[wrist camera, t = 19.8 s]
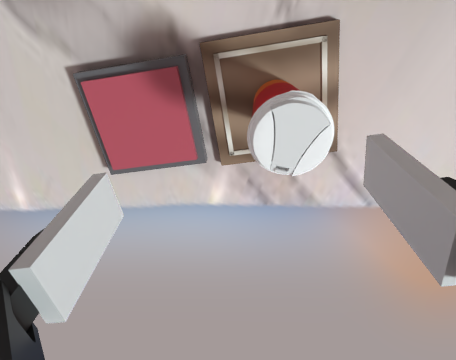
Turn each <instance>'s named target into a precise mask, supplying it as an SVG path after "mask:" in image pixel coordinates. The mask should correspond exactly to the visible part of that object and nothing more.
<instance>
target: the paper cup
mask: <svg viewBox="0 0 456 360" xmlns="http://www.w3.org/2000/svg"><path fill="white" fill-rule="evenodd" d="M333 138H334V122H333V119H332V116H331V114H330V112H329V110H328V108H327V107H326V106H325V105H324V104H323V103H322V102H321V101H320V100H318V99H317V98H316V97H315V96H314V95H313V94H311V93H308V92H304V91H300V90H299V89H297V88H296V87H294V86H293V85H292V84H290V83H288V82H286V81H283V80H271V81H268V82H266V83H265V84H263V85H262V86H261V87H260V88H259V89H258V91H257V92H256V94H255V97H254V102H253V110H252V118H251V120H250V123H249V126H248V131H247V142H248V147H249V150H250V153H251V155H252V156H253V158H254V159H255V161H256V162H257V163H258V164H259V165H260V166H262V167H263V168H265V169H266V170H269V171H271V172H274V173H277V174H283V175H291V176H295V175H300V174H303V173H306V172H308V171H310V170H312V169H314V168H315V167H316V166H318V165H319V164H320V163H321V162H322V161H323V160H324V158H325V157H326V156H327V154H328V152H329V150H330V147H331V145H332V142H333Z"/></svg>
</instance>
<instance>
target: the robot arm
mask: <svg viewBox="0 0 456 360" xmlns="http://www.w3.org/2000/svg"><path fill="white" fill-rule="evenodd" d="M364 187H365V188H366V189H367V190H368V192H369V193H370V194H371V196H372V197H373V198H374V200H375V201H376V202H377V203H378V205H379V206H380V207H381V209H382V210H383V211H384V213H385V214H386V215H387V217H388V218H389V219H390V220H391V222H392V223H393V224H394V226H395V227H396V228H397V230H398V231H399V232H400V233H401V235H402V236H403V237H404V239H405V240H406V241H407V243H408V244H409V245H410V246H411V248H412V249H413V250H414V252H415V253H416V254H417V256H418V257H419V258H420V260H421V261H422V262H423V263H424V265H425V266H426V267H427V269H428V270H429V271H430V273H431V274H432V275H433V276H434V278H435V279H436V280H437V282H438V283H439V284H440V286H452V285H456V180H454V179H452V178H450V177H444V178H439V177H438V176H437V175H435V174H434V173H433V172H432V171H430V170H429V169H428V168H427V167H425V166H424V165H423V164H421V163H420V162H419V161H418V160H416V159H415V158H414V157H413V156H411V155H410V154H409V153H407V152H406V151H405V150H404V149H402V148H401V147H400V146H399V145H397V144H396V143H395V142H393V141H392V140H391V139H390V138H388V137H387V136H386V135H385V134H377V135H370V136H367V141H366V156H365V170H364ZM123 216H124V214H123V212H122V210H121V207H120V204H119V202H118V199H117V197H116V194H115V192H114V190H113V187H112V185H111V182H110V180H109V177H108V175H107V173H100V174H93V175H92V176H91V177H90V178H89V179H88V180H87V182H86V183H85V184H84V185H83V186H82V187H81V188H80V190H79V191H78V192H77V193H76V194H75V195H74V196H73V197H72V199H71V200H70V201H69V202H68V203H67V204H66V205H65V206H64V208H63V209H62V210H61V211H60V212H59V213H58V214H57V216H56V217H55V218H54V219H53V220H52V221H51V222H50V223H49V224H48V226H47V227H46V228H45V229H43V230H42V231H40V232H39V233H38V234H36V235H35V236H33V237H32V239H31V240H30V241H29V242H28V243H27V244H26V245H25V247H23V248H22V250H21V251H20V252H19V254H18V255H16V256H15V257H14V258H13V260H12V261H11V262H10V263H9V264H8V265H7V266H6V267H5V268H4V269H3V271H2V272H1V273H0V360H45V358H44V354H43V350H42V346H41V342H40V338H39V333H38V329H37V327H36V326H35V325H34V323H33V321H34V320H35V318H36V316H37V315H38V313H39V314H40V315H41V317H42V318H43V320H44V321H45V322H46V323H58V322H66V320H67V318H68V317H69V315H70V313H71V311H72V309H73V308H74V306H75V304H76V302H77V300H78V298H79V297H80V295H81V293H82V291H83V289H84V287H85V286H86V284H87V282H88V280H89V278H90V276H91V275H92V273H93V271H94V269H95V267H96V265H97V264H98V262H99V260H100V258H101V256H102V255H103V253H104V251H105V249H106V247H107V245H108V244H109V242H110V240H111V238H112V236H113V235H114V233H115V231H116V229H117V227H118V226H119V224H120V222H121V220H122V218H123Z"/></svg>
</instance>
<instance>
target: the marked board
mask: <svg viewBox="0 0 456 360" xmlns="http://www.w3.org/2000/svg"><path fill="white" fill-rule="evenodd" d="M339 32H340V20H331V21H326V22H320V23H314V24H308V25H302V26H296V27H290V28H284V29H278V30H272V31H266V32H260V33H255V34H249V35H243V36H237V37H231V38H225V39H219V40H213V41H207V42H201V43H200V49H201V54H202V60H203V65H204V71H205V76H206V82H207V87H208V93H209V98H210V104H211V109H212V115H213V120H214V126H215V131H216V137H217V142H218V148H219V154H220V159H221V165H230V164H238V163H246V162H254V161H255V159H254V158H253V156H252V155H251V153H250V150H249V147H248V142H247V131H248V126H249V123H250V120H251V118H252V110H253V102H254V97H255V94H256V92H257V91H258V89H259V88H260V87H261V86H262V85H263V84H265V83H266V82H268V81H271V80H283V81H286V82H288V83H290V84H292V85H293V86H294V87H296V88H297V89H299V90H300V91H304V92H308V93H311V94H313V95H314V96H315V97H316V98H317V99H318V100H320V101H321V102H322V103H323V104H324V105H325V106H326V107H327V108H328V110H329V112H330V114H331V116H332V119H333V122H334V138H333V142H332V145H331V147H330V150H329V152H335V151H337V133H338V82H339Z"/></svg>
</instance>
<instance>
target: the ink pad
mask: <svg viewBox="0 0 456 360" xmlns="http://www.w3.org/2000/svg"><path fill="white" fill-rule="evenodd" d="M73 76H74V78H75V81H76V84H77V86H78V89H79V92H80V94H81V97H82V100H83V102H84V105H85V107H86V110H87V113H88V115H89V118H90V121H91V123H92V126H93V128H94V131H95V134H96V136H97V139H98V142H99V144H100V147H101V150H102V152H103V155H104V157H105V160H106V163H107V165H108V168H109V171H110V173H111V175H113V174H121V173H129V172H137V171H145V170H153V169H161V168H168V167H176V166H184V165H192V164H200V163H206V161H207V154H206V149H205V145H204V140H203V135H202V130H201V125H200V120H199V115H198V110H197V105H196V100H195V95H194V90H193V86H192V81H191V76H190V71H189V66H188V61H187V56H186V54H184V55H178V56H172V57H166V58H160V59H154V60H148V61H142V62H136V63H130V64H124V65H118V66H112V67H106V68H100V69H94V70H88V71H82V72H77V73H74V74H73Z"/></svg>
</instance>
